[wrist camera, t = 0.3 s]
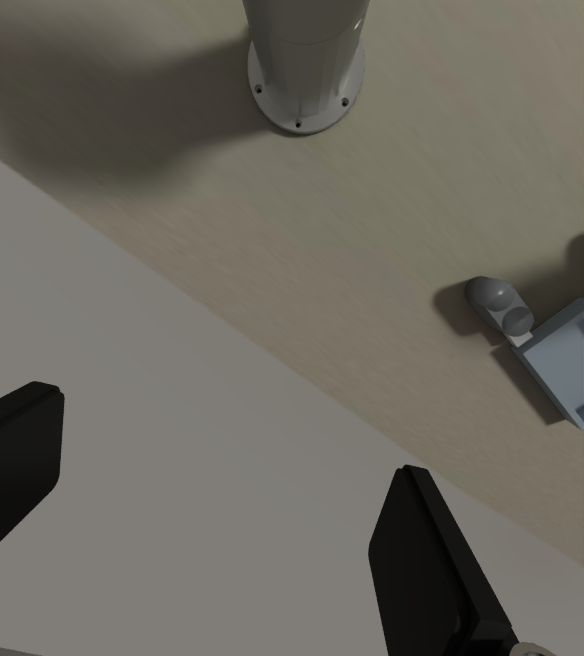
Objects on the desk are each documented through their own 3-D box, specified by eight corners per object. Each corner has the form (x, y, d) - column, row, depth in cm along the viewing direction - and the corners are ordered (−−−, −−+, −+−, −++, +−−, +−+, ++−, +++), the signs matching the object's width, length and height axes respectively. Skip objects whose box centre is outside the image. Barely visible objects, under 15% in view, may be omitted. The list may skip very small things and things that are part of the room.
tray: (509, 346, 45) (523, 353, 42) (579, 297, 43) (597, 301, 40) (566, 419, 47) (582, 430, 45) (634, 375, 45) (655, 384, 43)
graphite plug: (459, 289, 43) (475, 294, 39) (483, 270, 43) (503, 273, 38) (502, 345, 45) (523, 356, 41) (526, 328, 44) (550, 337, 40)
